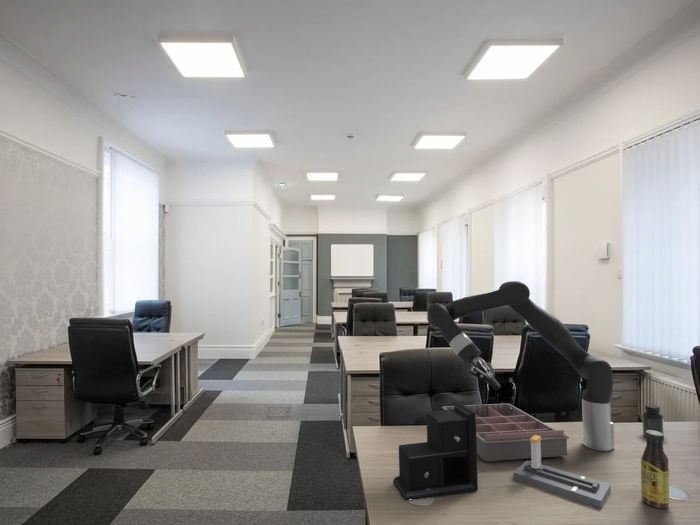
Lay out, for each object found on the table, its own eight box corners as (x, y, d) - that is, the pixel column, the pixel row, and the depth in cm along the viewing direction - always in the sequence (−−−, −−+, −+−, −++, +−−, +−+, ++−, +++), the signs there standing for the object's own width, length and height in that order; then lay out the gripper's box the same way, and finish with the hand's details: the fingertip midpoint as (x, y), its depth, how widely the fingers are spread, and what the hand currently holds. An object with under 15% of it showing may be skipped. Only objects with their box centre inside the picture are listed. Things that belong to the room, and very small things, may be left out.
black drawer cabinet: (404, 501, 113) (403, 417, 114) (392, 483, 124) (391, 406, 125) (478, 492, 118) (477, 412, 119) (461, 475, 129) (460, 401, 130)
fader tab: (528, 470, 127) (527, 437, 127) (533, 465, 130) (532, 434, 130) (540, 474, 124) (539, 441, 125) (544, 469, 127) (543, 437, 128)
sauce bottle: (636, 498, 115) (633, 427, 116) (656, 497, 115) (653, 427, 116) (655, 511, 108) (652, 436, 109) (676, 509, 109) (673, 435, 110)
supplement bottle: (668, 438, 158) (667, 408, 159) (654, 440, 156) (653, 409, 157) (652, 432, 165) (650, 403, 165) (638, 434, 163) (637, 404, 164)
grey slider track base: (513, 478, 126) (513, 467, 126) (527, 466, 135) (527, 455, 135) (601, 508, 110) (600, 495, 110) (610, 491, 118) (610, 479, 118)
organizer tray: (509, 421, 179) (509, 398, 179) (570, 460, 139) (569, 431, 140) (441, 425, 174) (441, 402, 175) (484, 466, 135) (484, 436, 135)
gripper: (462, 344, 139) (497, 385, 130) (479, 340, 149) (513, 378, 140) (449, 357, 142) (482, 399, 133) (466, 352, 152) (498, 391, 143)
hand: (498, 388), depth 136 cm, fingers closed
